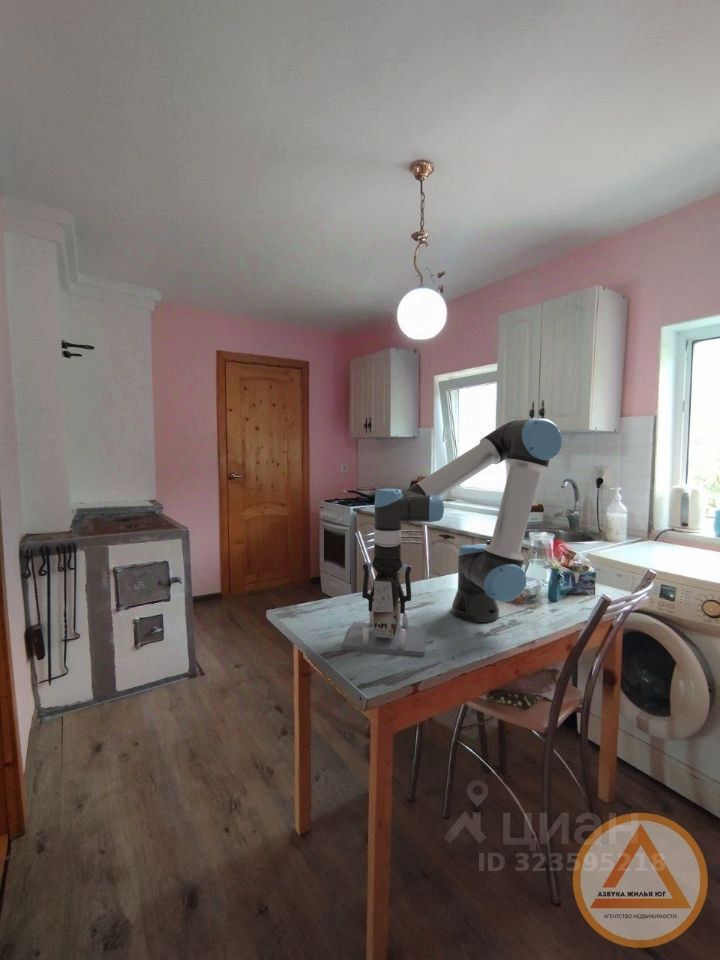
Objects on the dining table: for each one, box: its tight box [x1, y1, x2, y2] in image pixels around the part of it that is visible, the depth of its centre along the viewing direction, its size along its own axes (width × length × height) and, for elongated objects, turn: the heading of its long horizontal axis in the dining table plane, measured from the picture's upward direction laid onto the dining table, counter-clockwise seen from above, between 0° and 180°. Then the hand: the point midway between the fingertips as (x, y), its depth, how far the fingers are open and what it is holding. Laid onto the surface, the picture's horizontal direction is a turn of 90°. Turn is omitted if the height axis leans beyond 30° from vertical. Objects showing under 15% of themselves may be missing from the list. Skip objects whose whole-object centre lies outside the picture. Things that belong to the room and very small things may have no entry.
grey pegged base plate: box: [342, 610, 426, 657], centre depth 127 cm, size 22×16×6 cm
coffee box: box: [373, 572, 400, 639], centre depth 126 cm, size 9×6×16 cm
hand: (386, 622), depth 126 cm, fingers closed on coffee box, 6 cm apart
